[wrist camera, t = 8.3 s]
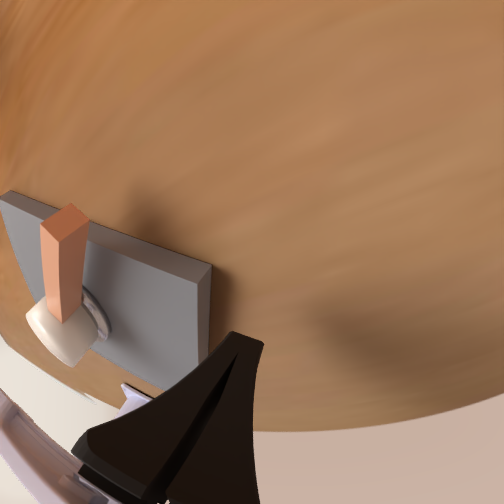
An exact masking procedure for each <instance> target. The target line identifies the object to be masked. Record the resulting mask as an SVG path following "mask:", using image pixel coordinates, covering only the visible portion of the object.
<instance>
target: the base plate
mask: <svg viewBox="0 0 504 504" xmlns="http://www.w3.org/2000/svg"><path fill="white" fill-rule="evenodd" d="M0 209H1V213H2V216H3V220H4V223H5V226H6V230H7V233H8V236H9V239H10V242H11V245H12V247H13V250H14V253H15V256H16V258H17V261H18V263H19V266H20V268H21V271H22V273H23V276H24V278H25V280H26V283H27V285H28V287H29V290H30V292H31V294H32V296H33V298H34V300H35V302H36V304H37V303H38V302H39V301H40V300H41V299H42V298H43V297H44V296H45V295H46V294H45V286H44V278H43V268H42V256H41V239H40V223H42V222H43V221H44V220H46V219H47V218H49V217H50V216H52V215H53V214H55V213H56V212H58V211H60V210H59V209H56V208H54V207H51V206H48V205H46V204H43V203H41V202H38V201H36V200H33V199H31V198H28V197H26V196H23V195H21V194H18V193H16V192H13V191H11V190H10V191H8V192H7V193H5V194H3V195H2V196H0ZM211 272H212V265H211V264H208V263H205V262H202V261H199V260H196V259H193V258H190V257H187V256H184V255H182V254H179V253H176V252H173V251H170V250H167V249H164V248H162V247H159V246H156V245H153V244H150V243H148V242H145V241H142V240H139V239H136V238H134V237H131V236H128V235H125V234H123V233H120V232H117V231H115V230H112V229H109V228H106V227H104V226H101V225H98V224H96V223H93V222H90V223H89V229H88V236H87V244H86V252H85V261H84V271H83V282H82V297H81V306H82V307H83V308H84V309H85V311H86V312H87V313H88V315H89V316H90V317H91V319H92V320H93V322H94V324H95V326H96V328H97V330H98V334H99V337H98V339H97V340H96V341H95V342H94V344H93V345H92V346H91V347H90V349H92V350H93V351H95V352H96V353H98V354H99V355H101V356H103V357H104V358H106V359H107V360H109V361H111V362H112V363H114V364H116V365H118V366H119V367H121V368H123V369H124V370H126V371H128V372H130V373H132V374H133V375H135V376H137V377H139V378H141V379H143V380H144V381H146V382H148V383H150V384H152V385H154V386H156V387H158V388H160V389H162V390H164V391H167V390H168V389H169V388H171V387H172V386H174V385H175V384H176V383H178V382H179V381H180V380H181V379H183V378H184V377H185V376H186V375H188V374H189V373H190V372H191V371H192V370H194V369H195V368H196V367H197V366H198V365H199V364H200V363H201V362H202V361H204V360H205V359H206V358H207V357H208V345H209V315H210V292H211Z"/></svg>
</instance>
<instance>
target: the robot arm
mask: <svg viewBox="0 0 504 504" xmlns="http://www.w3.org/2000/svg"><path fill="white" fill-rule="evenodd" d="M263 346H264V343H263V342H262V341H259V340H256V339H254V338H251V337H248V336H245V335H242V334H240V333H237V332H234V331H231V332H229V334H228V335H227V336H226V337H225V339H224V340H223V341H222V342H221V343H220V344H219V345H218V347H217V348H216V349H215V350H214V351H213V352H212V353H211V354H210V355H209V356H208V357H207V358H206V359H205V360H204V361H202V362H201V363H200V364H199V365H198V366H197V367H196V368H195V369H194V370H192V371H191V372H190V373H189V374H188V375H186V376H185V377H184V378H183V379H181V380H180V381H179V382H178V383H176V384H175V385H174V386H172V387H171V388H169V389H168V390H167V391H165V392H164V393H162V394H161V395H159V396H157V397H156V398H154V399H151V398H149V397H147V396H146V395H144V394H142V393H140V392H138V391H136V390H135V389H133V388H131V387H129V386H128V385H126V384H124V383H122V384H121V387H122V389H123V391H124V393H125V395H126V397H127V398H128V399H127V400H126V402H125V403H124V404H123V406H122V407H121V409H120V410H119V412H118V413H117V415H116V416H115V418H114V419H113V420H111V421H109V422H106V423H103V424H100V425H98V426H95V427H92V428H90V429H88V430H87V431H86V432H85V433H84V434H83V435H82V436H81V437H80V438H79V439H78V441H77V442H76V444H75V445H74V447H73V448H72V450H71V453H72V454H73V455H74V456H72V455H71V454H69V453H68V452H67V451H66V450H65V449H63V448H62V447H61V446H60V445H58V444H57V443H56V442H55V441H54V440H52V439H51V438H50V437H49V436H48V435H47V434H46V433H45V432H44V431H43V430H41V429H40V428H39V427H38V426H37V425H36V424H35V423H34V422H33V420H32V419H31V418H30V417H29V416H28V415H27V414H26V413H25V412H24V411H23V410H22V409H21V408H20V407H19V406H18V405H17V404H16V403H15V402H13V401H12V400H11V399H10V398H9V397H8V396H7V395H6V394H5V392H4V391H3V390H2V389H1V388H0V455H1V456H2V458H3V459H4V460H5V462H6V463H7V465H8V466H9V468H10V469H11V470H12V472H13V473H14V474H15V475H16V477H17V478H18V479H19V481H20V482H21V483H22V484H23V486H24V487H25V488H26V489H27V490H28V492H29V493H30V494H31V495H32V496H33V497H34V499H35V500H36V501H37V502H38V503H39V504H157V503H159V504H165V503H166V501H167V500H169V502H170V503H169V504H260V500H259V494H258V487H257V480H256V472H255V461H254V449H253V402H254V390H255V380H256V373H257V367H258V364H259V360H260V357H261V353H262V350H263Z"/></svg>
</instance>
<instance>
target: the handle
mask: <svg viewBox="0 0 504 504" xmlns="http://www.w3.org/2000/svg"><path fill="white" fill-rule="evenodd" d="M89 223H90V219H89V218H87V217H86V216H85V215H84V214H83V213H82V212H81V211H79V210H78V209H77V208H76V207H75V206H74V205H73V204H72V203H71V204H69V205H67V206H66V207H64V208H63V209H61V210H60V211H58V212H56V213H55V214H53V215H52V216H50V217H49V218H47V219H46V220H44V221H43V222H42V223H40V239H41V256H42V268H43V278H44V286H45V294H46V295H45V296H44V297H43V298H42V299H41V300H40V301H39V302H38V303H37V304H36V305H35V306H34V307H33V308H32V309H31V310H30V311H29V312H28V313H27V314H26V318H27V321H28V323H29V325H30V326H31V328H32V330H33V331H34V333H35V334H36V335H37V337H38V338H39V339H40V341H41V342H42V343H43V344H44V345H45V346H46V347H47V348H48V350H49V351H50V352H51V353H53V354H54V355H55V356H56V357H57V358H58V359H59V360H61V361H62V362H63V363H65V364H66V365H68V366H70V367H74V366H75V365H76V364H77V363H78V361H79V360H80V359H81V358H82V357H83V355H84V354H85V353H86V352H87V351H88V349H89V348H90V347H91V346H92V345H93V344H94V342H95V341H96V340H97V339H98V337H99V334H98V330H97V328H96V326H95V324H94V322H93V320H92V319H91V317H90V316H89V315H88V313H87V312H86V311H85V309H84V308H83V307H82V306H81V297H82V282H83V271H84V261H85V252H86V244H87V236H88V229H89Z"/></svg>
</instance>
